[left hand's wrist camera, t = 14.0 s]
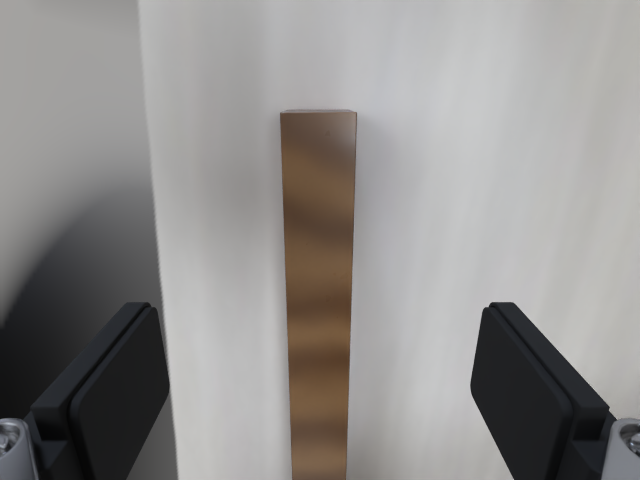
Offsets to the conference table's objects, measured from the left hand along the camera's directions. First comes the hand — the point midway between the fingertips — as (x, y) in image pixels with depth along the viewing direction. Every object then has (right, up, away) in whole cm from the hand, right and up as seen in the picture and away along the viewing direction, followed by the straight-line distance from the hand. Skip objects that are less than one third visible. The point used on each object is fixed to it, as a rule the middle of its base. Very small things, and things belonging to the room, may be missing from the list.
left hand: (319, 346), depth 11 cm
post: (0, -13, +33) cm, 35 cm away
